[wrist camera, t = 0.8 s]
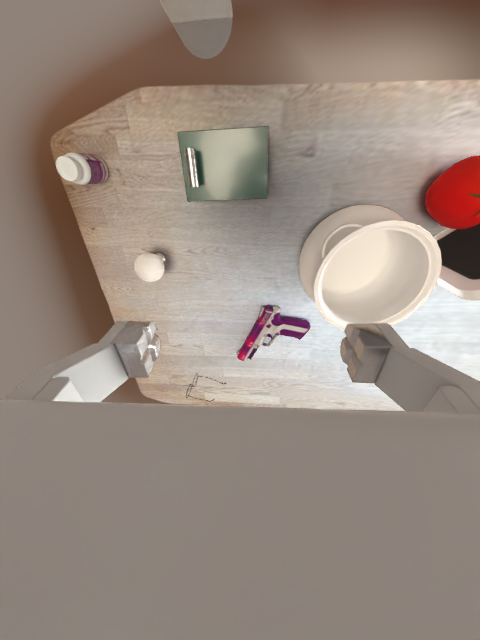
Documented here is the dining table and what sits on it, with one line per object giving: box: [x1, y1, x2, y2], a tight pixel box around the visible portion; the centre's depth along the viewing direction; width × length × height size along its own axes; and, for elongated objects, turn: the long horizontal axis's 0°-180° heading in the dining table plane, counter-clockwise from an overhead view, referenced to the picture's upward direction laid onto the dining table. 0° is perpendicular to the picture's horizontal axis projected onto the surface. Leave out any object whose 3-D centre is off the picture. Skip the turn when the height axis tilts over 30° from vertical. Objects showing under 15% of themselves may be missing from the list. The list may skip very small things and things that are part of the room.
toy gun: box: [237, 305, 310, 361], centre depth 71 cm, size 4×22×15 cm
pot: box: [299, 204, 442, 330], centre depth 51 cm, size 26×24×17 cm
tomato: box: [425, 156, 480, 229], centre depth 44 cm, size 12×12×13 cm
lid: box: [178, 126, 269, 202], centre depth 40 cm, size 15×11×5 cm
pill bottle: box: [56, 152, 108, 185], centre depth 47 cm, size 5×5×10 cm
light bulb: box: [134, 253, 165, 282], centre depth 57 cm, size 7×7×11 cm
